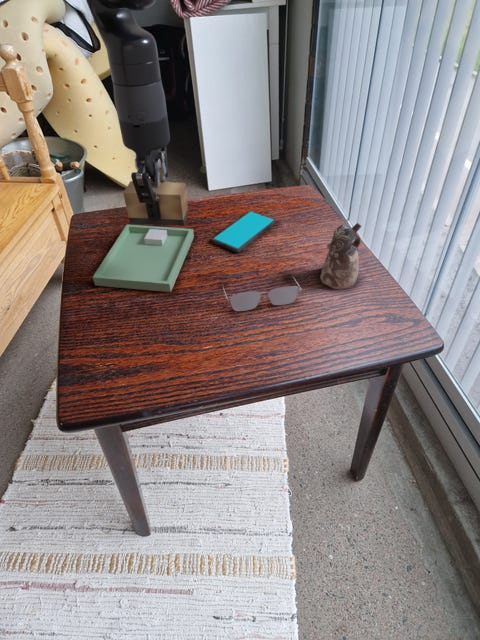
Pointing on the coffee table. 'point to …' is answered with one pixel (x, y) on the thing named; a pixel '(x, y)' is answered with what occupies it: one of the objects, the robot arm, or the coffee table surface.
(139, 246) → the tray
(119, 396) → the coffee table surface
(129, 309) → the coffee table surface
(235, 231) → the smartphone
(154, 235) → the chalk lump
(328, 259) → the figurine
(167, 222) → the eraser
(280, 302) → the eyeglasses
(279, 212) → the coffee table surface
